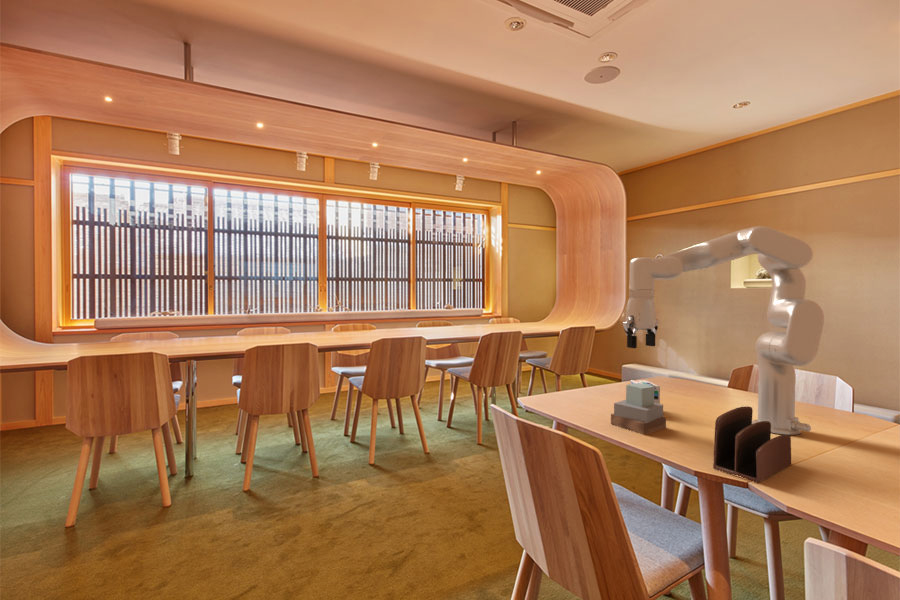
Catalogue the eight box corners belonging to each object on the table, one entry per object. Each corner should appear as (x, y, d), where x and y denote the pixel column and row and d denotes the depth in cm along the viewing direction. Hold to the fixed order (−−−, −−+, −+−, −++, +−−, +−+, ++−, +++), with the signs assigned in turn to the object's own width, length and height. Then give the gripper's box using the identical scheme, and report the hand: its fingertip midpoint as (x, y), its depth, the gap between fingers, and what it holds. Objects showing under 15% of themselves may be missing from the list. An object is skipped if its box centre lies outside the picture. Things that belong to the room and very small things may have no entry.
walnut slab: (665, 429, 137) (666, 417, 137) (643, 436, 131) (643, 423, 131) (633, 420, 147) (633, 408, 147) (610, 426, 141) (610, 414, 141)
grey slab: (663, 416, 138) (663, 404, 138) (646, 423, 131) (646, 410, 131) (630, 409, 147) (631, 398, 147) (613, 415, 140) (614, 403, 140)
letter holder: (712, 469, 106) (713, 413, 106) (748, 453, 117) (748, 402, 116) (758, 484, 98) (759, 424, 97) (792, 465, 108) (793, 411, 108)
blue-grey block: (654, 404, 138) (654, 386, 138) (641, 407, 135) (641, 388, 135) (638, 400, 143) (638, 383, 143) (626, 402, 140) (626, 384, 140)
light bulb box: (660, 415, 151) (660, 386, 151) (641, 415, 151) (641, 385, 151) (647, 407, 162) (647, 379, 162) (629, 407, 162) (629, 379, 162)
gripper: (647, 295, 146) (647, 344, 147) (614, 295, 138) (614, 347, 138) (668, 295, 140) (667, 346, 140) (635, 295, 131) (634, 350, 131)
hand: (641, 346), depth 139 cm, fingers open, 9 cm apart
